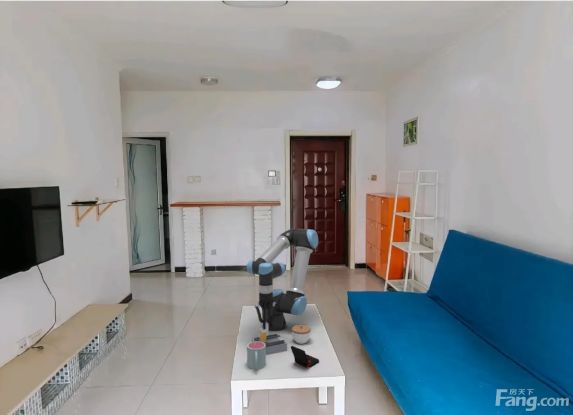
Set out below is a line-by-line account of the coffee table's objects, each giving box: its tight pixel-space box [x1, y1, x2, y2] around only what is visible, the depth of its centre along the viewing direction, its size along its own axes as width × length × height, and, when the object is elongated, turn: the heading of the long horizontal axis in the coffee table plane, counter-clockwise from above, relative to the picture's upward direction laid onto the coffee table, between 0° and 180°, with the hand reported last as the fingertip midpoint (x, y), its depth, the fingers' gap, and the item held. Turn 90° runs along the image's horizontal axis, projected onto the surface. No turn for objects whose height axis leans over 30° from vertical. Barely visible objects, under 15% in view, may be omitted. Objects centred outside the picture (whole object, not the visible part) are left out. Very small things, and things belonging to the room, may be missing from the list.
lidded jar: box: [291, 324, 312, 345], centre depth 211 cm, size 11×11×9 cm
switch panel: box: [251, 333, 288, 356], centre depth 202 cm, size 16×12×5 cm
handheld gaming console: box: [290, 345, 320, 369], centre depth 185 cm, size 9×12×10 cm
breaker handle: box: [258, 327, 268, 343], centre depth 201 cm, size 4×5×7 cm
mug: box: [246, 341, 267, 370], centre depth 183 cm, size 14×9×10 cm
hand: (266, 334), depth 201 cm, fingers closed
